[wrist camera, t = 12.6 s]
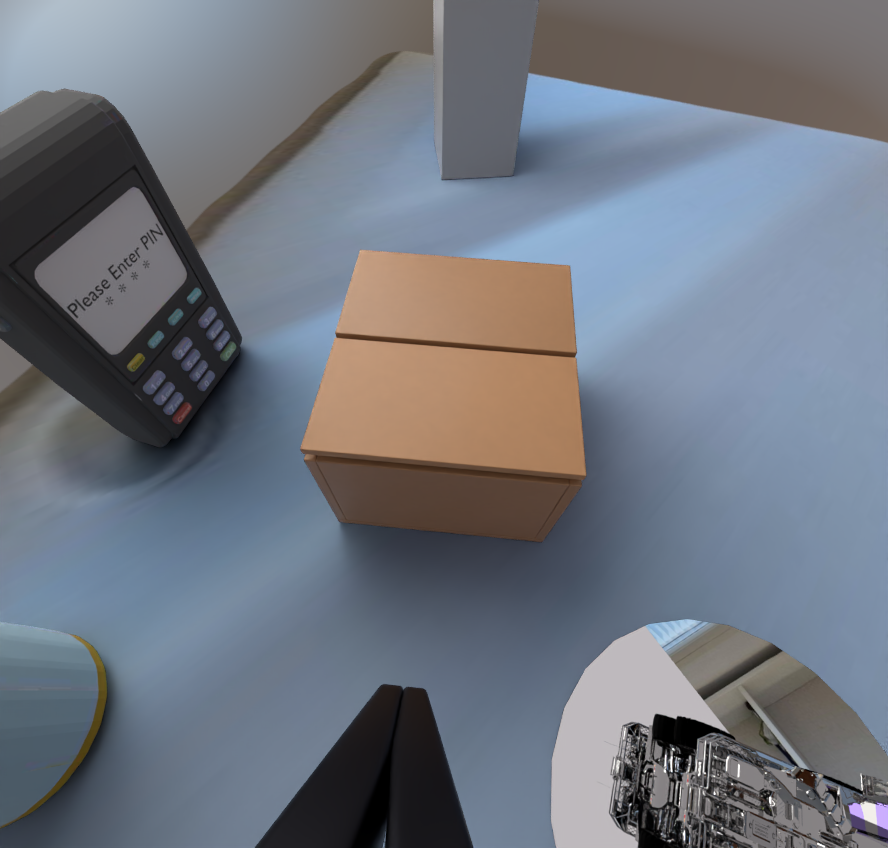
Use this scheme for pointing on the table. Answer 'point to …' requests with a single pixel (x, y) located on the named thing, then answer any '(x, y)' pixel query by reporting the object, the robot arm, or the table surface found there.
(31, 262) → the card reader
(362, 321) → the carton
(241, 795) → the table surface
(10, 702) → the bottle
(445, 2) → the perfume bottle
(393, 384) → the lid flap
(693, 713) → the toy car
